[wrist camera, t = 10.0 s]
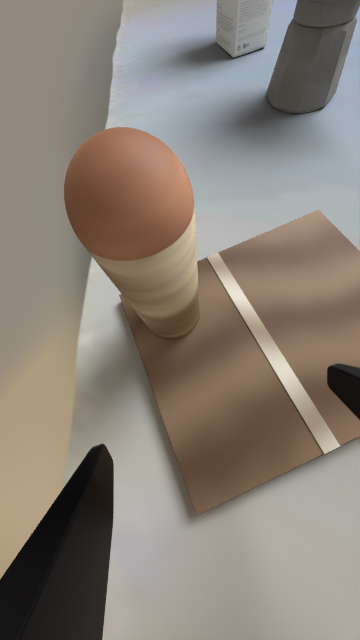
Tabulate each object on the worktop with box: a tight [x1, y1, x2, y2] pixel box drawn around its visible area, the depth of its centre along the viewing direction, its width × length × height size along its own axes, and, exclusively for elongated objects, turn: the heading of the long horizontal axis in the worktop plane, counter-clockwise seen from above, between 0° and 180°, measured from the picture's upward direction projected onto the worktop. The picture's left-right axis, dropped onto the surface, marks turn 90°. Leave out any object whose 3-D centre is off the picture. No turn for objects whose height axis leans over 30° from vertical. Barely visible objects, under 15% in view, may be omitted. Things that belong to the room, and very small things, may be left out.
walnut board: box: [119, 210, 360, 515], centre depth 18 cm, size 18×22×1 cm
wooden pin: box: [64, 127, 200, 340], centre depth 12 cm, size 5×5×14 cm
